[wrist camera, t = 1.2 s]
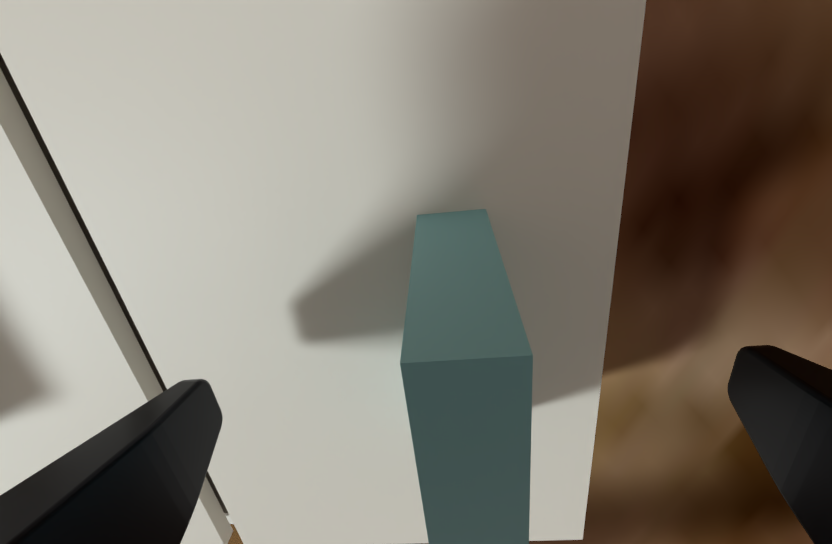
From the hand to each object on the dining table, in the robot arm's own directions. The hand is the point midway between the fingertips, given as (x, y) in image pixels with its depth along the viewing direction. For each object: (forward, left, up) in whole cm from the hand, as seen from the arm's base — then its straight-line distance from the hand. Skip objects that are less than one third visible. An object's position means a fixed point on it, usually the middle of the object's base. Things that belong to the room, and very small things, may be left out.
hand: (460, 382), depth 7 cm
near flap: (0, +2, -2) cm, 3 cm away
